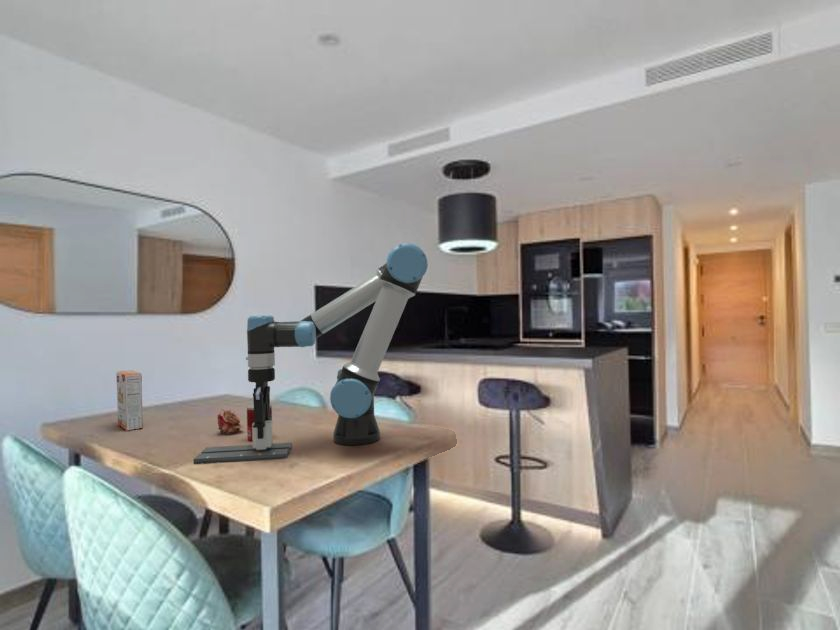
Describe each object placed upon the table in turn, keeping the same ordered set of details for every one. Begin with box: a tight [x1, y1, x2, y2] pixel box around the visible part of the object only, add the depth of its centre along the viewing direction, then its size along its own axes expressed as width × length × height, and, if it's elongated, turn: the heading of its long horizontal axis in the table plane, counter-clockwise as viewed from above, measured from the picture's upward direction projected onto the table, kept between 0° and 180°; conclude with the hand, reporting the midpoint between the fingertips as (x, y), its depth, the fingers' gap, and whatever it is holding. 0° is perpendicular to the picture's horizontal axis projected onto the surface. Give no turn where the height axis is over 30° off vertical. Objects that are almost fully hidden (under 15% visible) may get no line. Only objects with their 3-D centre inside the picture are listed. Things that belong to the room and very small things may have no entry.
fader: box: [252, 419, 274, 450], centre depth 139 cm, size 5×4×8 cm
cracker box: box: [116, 370, 144, 432], centre depth 179 cm, size 14×6×21 cm, turn 43°
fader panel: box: [193, 442, 293, 465], centre depth 139 cm, size 25×12×1 cm, turn 98°
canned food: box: [246, 404, 273, 442], centre depth 158 cm, size 8×8×11 cm
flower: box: [217, 409, 244, 435], centre depth 167 cm, size 10×9×8 cm
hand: (262, 446), depth 139 cm, fingers closed on fader, 4 cm apart
